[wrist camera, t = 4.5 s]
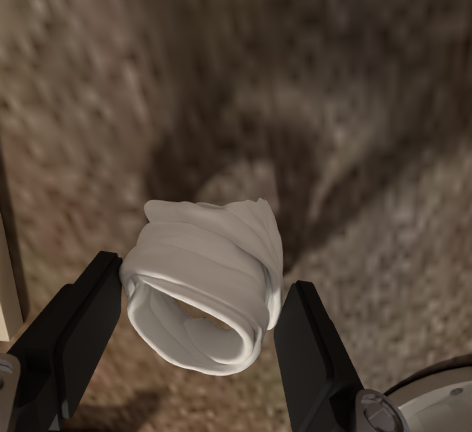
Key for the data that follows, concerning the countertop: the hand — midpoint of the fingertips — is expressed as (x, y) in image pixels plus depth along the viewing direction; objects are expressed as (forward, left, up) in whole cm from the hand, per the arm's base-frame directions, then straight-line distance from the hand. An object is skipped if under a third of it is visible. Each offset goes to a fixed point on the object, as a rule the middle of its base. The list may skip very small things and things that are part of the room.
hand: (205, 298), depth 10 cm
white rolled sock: (0, 0, -2) cm, 2 cm away
